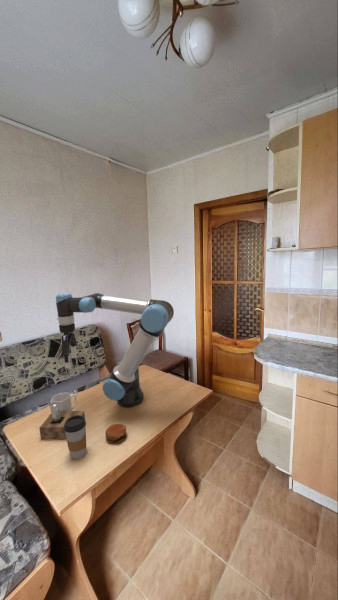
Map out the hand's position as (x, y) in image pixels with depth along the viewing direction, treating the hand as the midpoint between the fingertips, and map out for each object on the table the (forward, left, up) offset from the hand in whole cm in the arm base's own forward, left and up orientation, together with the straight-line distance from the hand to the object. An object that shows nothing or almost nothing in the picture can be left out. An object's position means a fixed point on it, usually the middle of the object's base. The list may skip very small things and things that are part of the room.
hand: (71, 362), depth 130 cm
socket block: (-1, +17, -27) cm, 32 cm away
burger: (-27, +22, -27) cm, 44 cm away
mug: (+3, +5, -27) cm, 28 cm away
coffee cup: (-14, +32, -27) cm, 44 cm away
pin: (+1, +18, -24) cm, 30 cm away
